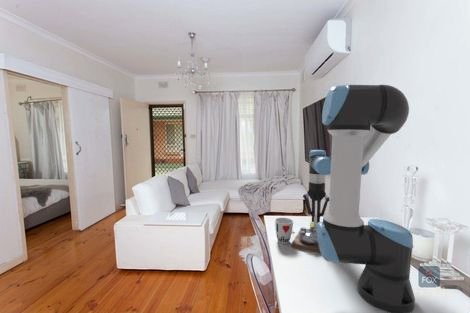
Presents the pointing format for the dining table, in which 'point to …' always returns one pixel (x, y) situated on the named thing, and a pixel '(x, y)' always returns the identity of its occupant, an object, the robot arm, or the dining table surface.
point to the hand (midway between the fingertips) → (315, 228)
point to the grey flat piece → (308, 235)
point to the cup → (283, 229)
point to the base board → (304, 245)
